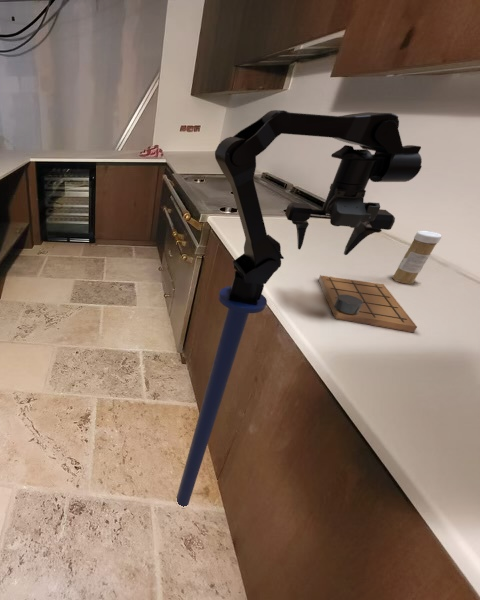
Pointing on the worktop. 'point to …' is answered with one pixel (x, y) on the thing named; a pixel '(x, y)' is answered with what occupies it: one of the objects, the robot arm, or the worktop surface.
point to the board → (367, 303)
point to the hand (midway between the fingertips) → (321, 251)
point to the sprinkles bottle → (416, 256)
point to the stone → (348, 304)
